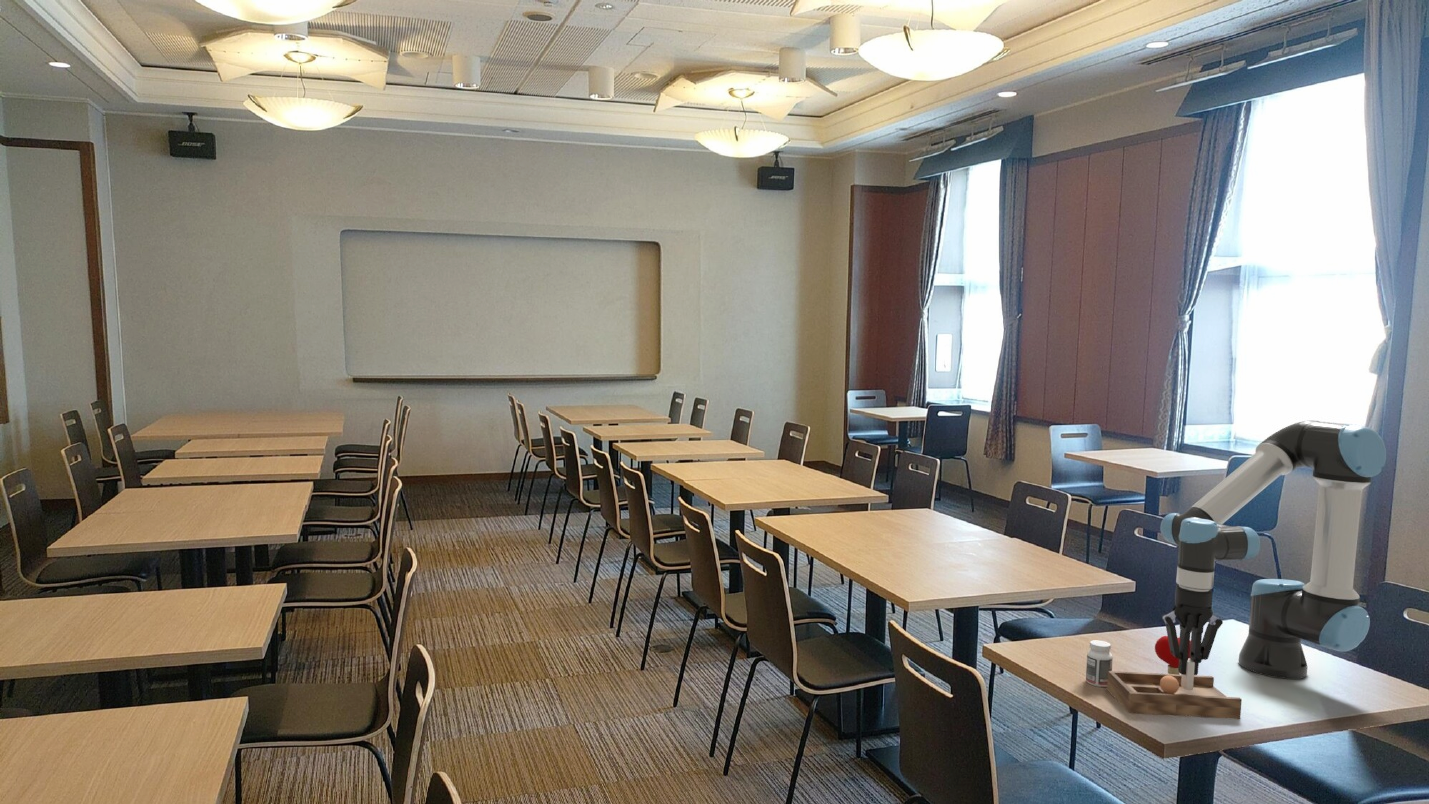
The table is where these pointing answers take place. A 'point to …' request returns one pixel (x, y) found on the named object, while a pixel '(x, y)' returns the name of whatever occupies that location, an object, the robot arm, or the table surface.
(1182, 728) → the table surface
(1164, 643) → the red heart-shaped lump
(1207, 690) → the lane
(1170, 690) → the ball
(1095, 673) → the pill bottle
